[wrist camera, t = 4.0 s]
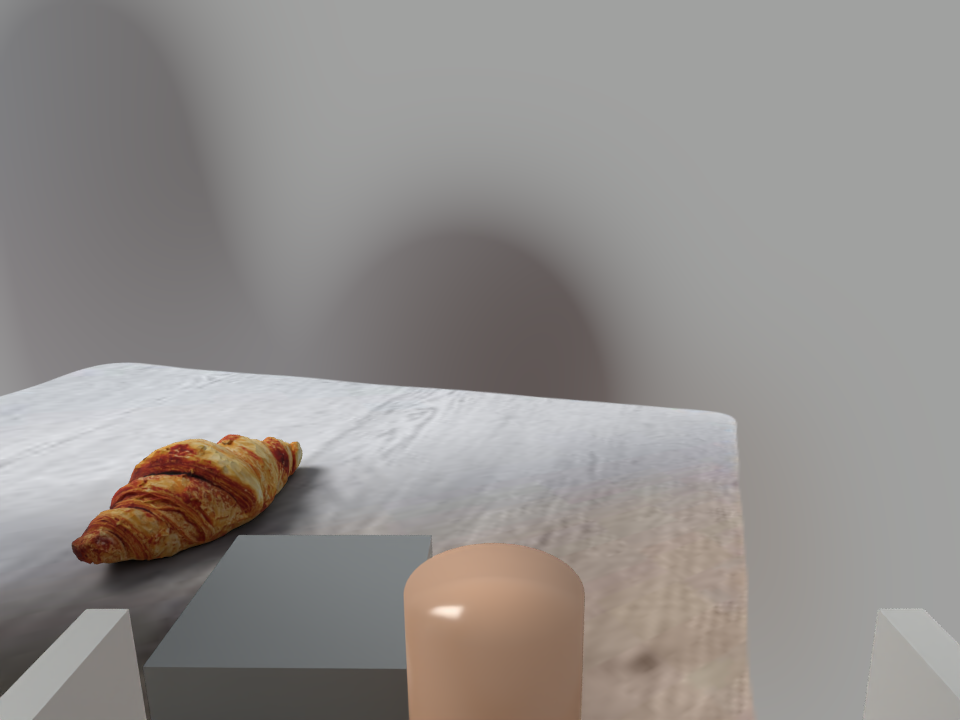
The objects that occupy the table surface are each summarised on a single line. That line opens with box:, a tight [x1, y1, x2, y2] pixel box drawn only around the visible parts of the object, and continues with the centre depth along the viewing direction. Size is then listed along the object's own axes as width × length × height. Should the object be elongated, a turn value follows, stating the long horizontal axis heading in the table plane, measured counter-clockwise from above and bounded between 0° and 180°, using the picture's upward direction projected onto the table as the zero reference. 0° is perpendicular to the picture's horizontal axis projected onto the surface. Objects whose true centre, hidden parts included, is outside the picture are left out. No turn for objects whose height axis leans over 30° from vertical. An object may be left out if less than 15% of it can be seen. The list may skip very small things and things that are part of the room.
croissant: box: [72, 435, 302, 564], centre depth 54 cm, size 21×10×8 cm, turn 155°
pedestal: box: [143, 535, 432, 720], centre depth 38 cm, size 12×12×4 cm
